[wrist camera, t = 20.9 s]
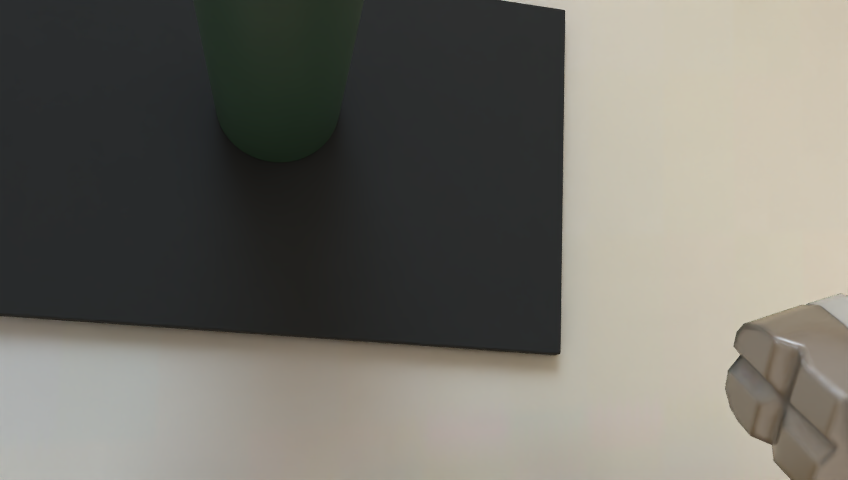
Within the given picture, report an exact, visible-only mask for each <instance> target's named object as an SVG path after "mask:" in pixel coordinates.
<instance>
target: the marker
mask: <svg viewBox="0 0 848 480" xmlns="http://www.w3.org/2000/svg"><path fill="white" fill-rule="evenodd" d="M193 2H194V7H195V12H196V17H197V21H198V26H199V31H200V36H201V41H202V46H203V51H204V55H205V60H206V65H207V70H208V75H209V80H210V85H211V90H212V94H213V99H214V104H215V109H216V114H217V118H218V121H219V123H220V126H221V128H222V130H223V131H224V133H225V135H226V136H227V137H228V139H229V140H230V141H231V142H232V143H233V144H234V145H235V146H236V147H238V148H239V149H240V150H241V151H243V152H245V153H246V154H248V155H250V156H252V157H255V158H257V159H260V160H264V161H269V162H291V161H296V160H299V159H302V158H305V157H307V156H309V155H311V154H313V153H314V152H316V151H317V150H319V149H320V148H321V147H322V146H323V145H324V144H325V143H326V142H327V141H328V140H329V138H330V137H331V135H332V134H333V132H334V130H335V128H336V125H337V122H338V119H339V114H340V109H341V105H342V100H343V95H344V91H345V86H346V81H347V77H348V72H349V68H350V63H351V58H352V54H353V49H354V44H355V40H356V35H357V30H358V26H359V21H360V16H361V12H362V7H363V3H364V0H193Z"/></svg>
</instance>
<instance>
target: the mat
mask: <svg viewBox="0 0 848 480" xmlns="http://www.w3.org/2000/svg"><path fill="white" fill-rule="evenodd" d="M564 55H565V10H561V9H554V8H547V7H541V6H534V5H528V4H521V3H514V2H508V1H501V0H364V3H363V7H362V12H361V16H360V21H359V26H358V30H357V35H356V40H355V44H354V49H353V54H352V58H351V63H350V68H349V72H348V77H347V81H346V86H345V91H344V95H343V100H342V105H341V109H340V114H339V119H338V122H337V125H336V128H335V130H334V132H333V134H332V135H331V137H330V138H329V140H328V141H327V142H326V143H325V144H324V145H323V146H322V147H321V148H320V149H319V150H317V151H316V152H314V153H313V154H311V155H309V156H307V157H305V158H302V159H299V160H296V161H291V162H269V161H264V160H260V159H257V158H255V157H252V156H250V155H248V154H246V153H245V152H243V151H241V150H240V149H239V148H238V147H236V146H235V145H234V144H233V143H232V142H231V141H230V140H229V139H228V137H227V136H226V135H225V133H224V131H223V130H222V128H221V126H220V123H219V121H218V118H217V114H216V109H215V104H214V99H213V94H212V90H211V85H210V80H209V75H208V70H207V65H206V60H205V55H204V51H203V46H202V41H201V36H200V31H199V26H198V21H197V17H196V12H195V7H194V2H193V0H0V316H10V317H24V318H38V319H52V320H66V321H80V322H95V323H109V324H123V325H137V326H151V327H165V328H180V329H194V330H208V331H222V332H236V333H250V334H265V335H279V336H293V337H307V338H321V339H335V340H350V341H364V342H378V343H392V344H406V345H420V346H434V347H449V348H463V349H477V350H491V351H505V352H519V353H534V354H548V355H557V354H560V344H561V272H562V199H563V127H564Z"/></svg>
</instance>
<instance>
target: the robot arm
mask: <svg viewBox="0 0 848 480" xmlns="http://www.w3.org/2000/svg"><path fill="white" fill-rule="evenodd" d="M734 348H735V349H736V350H737V352H738V353H739V354H740V356H739V357H738V359H737V360H736V361H735V362H734V364H733V365H732V366H731V367H730V369H729V370H728V374H727V380H726V386H725V390H726V394H727V398H728V402H729V406H730V408H731V410H732V412H733V414H734V415H735V417H736V419H737V420H738V422H739V423H740V424H741V425H742V427H743V428H744V429H745V430H746V431H747V432H748V433H749V434H750V436H752V437H754V438H757V439H759V440H762V441H764V442H766V443H769V444H771V445H772V451H773V460H774V462H775V463H776V464H777V465H778V466H779V467H780V468H781V469H782V470H783V472H784V473H785V474H786V475H787V476H788V477H789V478H790V479H791V480H848V296H847V295H844V294H837V295H834V296H830V297H827V298H824V299H821V300H818V301H814V302H811V303H808V304H806V305H800V306H797V307H794V308H791V309H787V310H784V311H781V312H778V313H775V314H772V315H769V316H766V317H763V318H760V319H757V320H754V321H751V322H748V323H745V324H743V326H742V327H741V328H740V329H739V330H738V331H737V333H736V337H735V341H734Z"/></svg>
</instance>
